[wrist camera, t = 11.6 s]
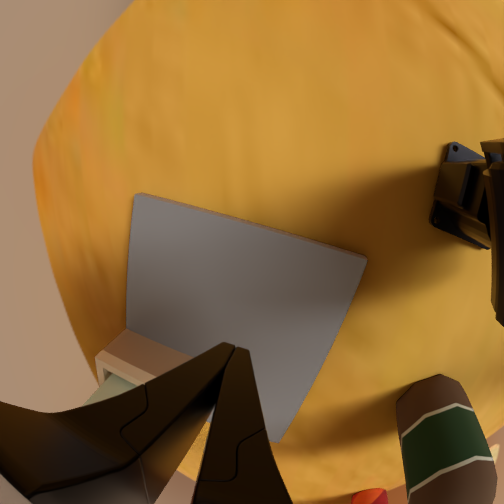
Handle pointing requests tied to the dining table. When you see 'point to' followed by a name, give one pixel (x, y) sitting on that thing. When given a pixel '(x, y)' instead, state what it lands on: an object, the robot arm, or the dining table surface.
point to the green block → (110, 389)
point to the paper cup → (370, 497)
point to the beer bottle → (443, 446)
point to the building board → (230, 301)
